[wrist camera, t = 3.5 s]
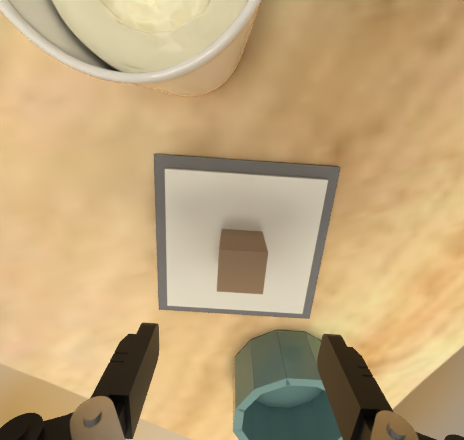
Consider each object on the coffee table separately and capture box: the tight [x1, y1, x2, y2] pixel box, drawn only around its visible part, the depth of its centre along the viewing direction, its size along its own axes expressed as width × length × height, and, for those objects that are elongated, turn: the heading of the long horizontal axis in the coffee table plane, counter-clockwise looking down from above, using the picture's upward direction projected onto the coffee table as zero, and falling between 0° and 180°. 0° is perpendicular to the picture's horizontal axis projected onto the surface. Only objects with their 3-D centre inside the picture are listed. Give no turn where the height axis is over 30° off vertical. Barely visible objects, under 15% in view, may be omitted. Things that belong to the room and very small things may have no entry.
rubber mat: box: [154, 154, 340, 319], centre depth 23 cm, size 15×15×1 cm
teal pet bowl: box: [233, 330, 343, 440], centre depth 26 cm, size 11×11×6 cm
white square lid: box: [165, 168, 328, 314], centre depth 21 cm, size 13×13×5 cm
